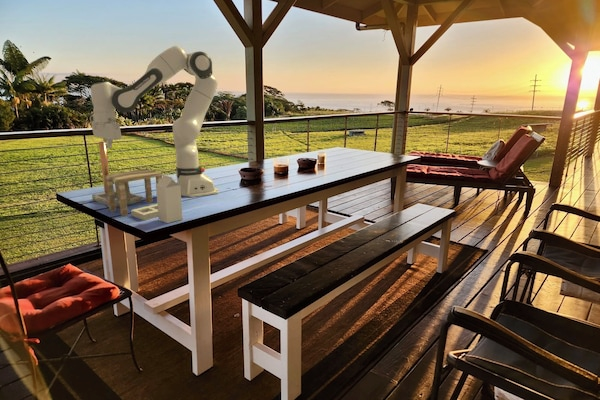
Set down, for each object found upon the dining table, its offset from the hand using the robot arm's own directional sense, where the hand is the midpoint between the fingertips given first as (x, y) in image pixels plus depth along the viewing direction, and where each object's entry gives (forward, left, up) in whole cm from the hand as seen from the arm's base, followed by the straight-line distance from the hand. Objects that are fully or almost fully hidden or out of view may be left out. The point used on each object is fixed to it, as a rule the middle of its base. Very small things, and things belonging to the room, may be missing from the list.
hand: (108, 147), depth 183 cm
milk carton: (-22, +40, -26) cm, 53 cm away
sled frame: (-1, +2, -25) cm, 26 cm away
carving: (-4, +7, -26) cm, 27 cm away
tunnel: (-10, +19, -26) cm, 33 cm away
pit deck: (-16, +30, -26) cm, 42 cm away
